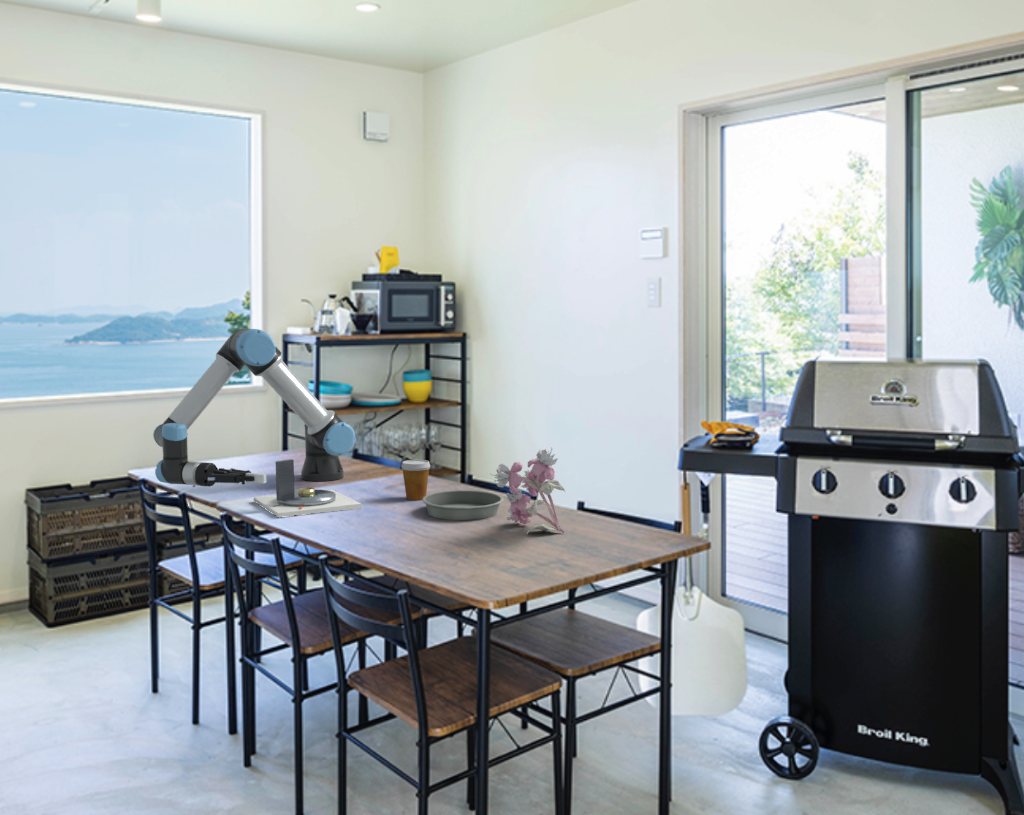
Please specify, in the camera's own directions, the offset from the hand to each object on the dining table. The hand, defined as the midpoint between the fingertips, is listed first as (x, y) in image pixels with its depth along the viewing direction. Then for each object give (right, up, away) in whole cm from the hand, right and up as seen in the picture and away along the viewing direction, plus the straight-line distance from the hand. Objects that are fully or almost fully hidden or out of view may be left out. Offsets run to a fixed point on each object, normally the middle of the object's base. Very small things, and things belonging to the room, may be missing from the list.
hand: (264, 478), depth 291 cm
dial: (+12, -7, +3) cm, 14 cm away
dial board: (+12, -9, +4) cm, 15 cm away
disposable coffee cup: (+45, -8, +15) cm, 48 cm away
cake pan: (+62, -10, -5) cm, 63 cm away
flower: (+81, -12, -25) cm, 86 cm away
